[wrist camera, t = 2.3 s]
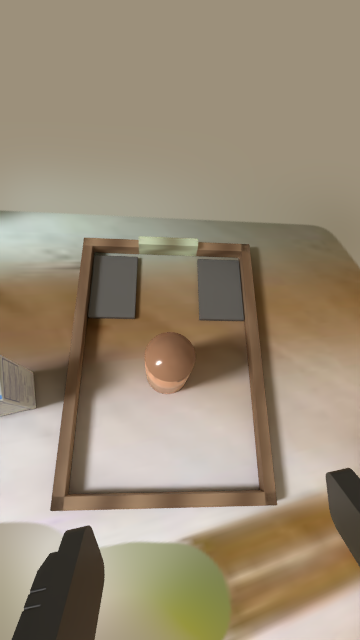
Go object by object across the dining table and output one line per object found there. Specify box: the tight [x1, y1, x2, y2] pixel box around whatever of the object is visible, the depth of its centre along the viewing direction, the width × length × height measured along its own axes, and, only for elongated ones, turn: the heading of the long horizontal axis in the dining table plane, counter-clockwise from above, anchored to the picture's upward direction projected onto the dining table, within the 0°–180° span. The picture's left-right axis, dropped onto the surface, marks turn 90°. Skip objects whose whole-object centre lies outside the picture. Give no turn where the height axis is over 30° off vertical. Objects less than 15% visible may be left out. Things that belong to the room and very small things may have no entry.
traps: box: [88, 255, 244, 321], centre depth 42 cm, size 20×9×1 cm, turn 90°
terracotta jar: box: [145, 332, 196, 394], centre depth 34 cm, size 5×5×8 cm
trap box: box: [50, 236, 277, 511], centre depth 38 cm, size 23×32×2 cm
